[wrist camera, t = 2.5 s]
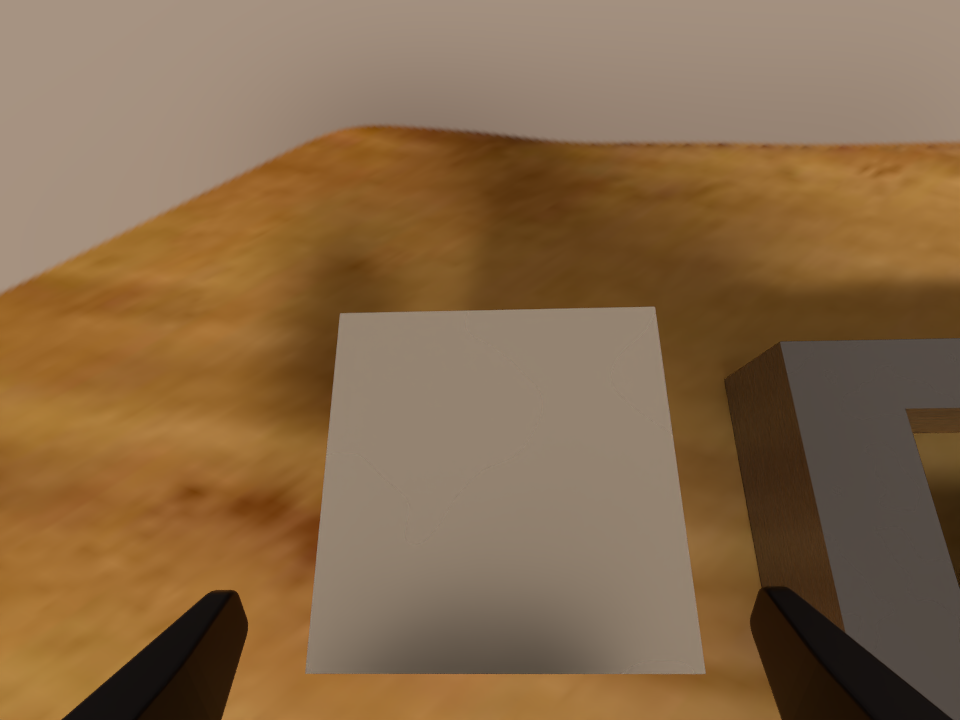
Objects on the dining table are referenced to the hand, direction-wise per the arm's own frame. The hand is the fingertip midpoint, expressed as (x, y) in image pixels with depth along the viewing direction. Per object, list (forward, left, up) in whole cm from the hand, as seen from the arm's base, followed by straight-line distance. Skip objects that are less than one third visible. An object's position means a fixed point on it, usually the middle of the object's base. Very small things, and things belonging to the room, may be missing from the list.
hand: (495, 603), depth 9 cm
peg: (+1, -1, -9) cm, 9 cm away
